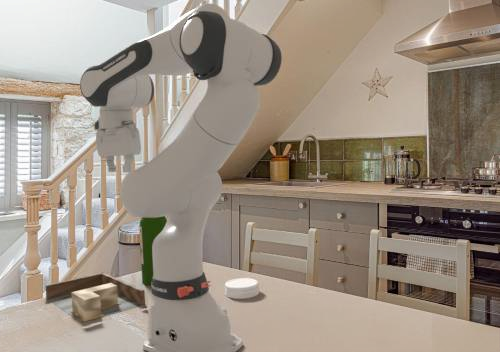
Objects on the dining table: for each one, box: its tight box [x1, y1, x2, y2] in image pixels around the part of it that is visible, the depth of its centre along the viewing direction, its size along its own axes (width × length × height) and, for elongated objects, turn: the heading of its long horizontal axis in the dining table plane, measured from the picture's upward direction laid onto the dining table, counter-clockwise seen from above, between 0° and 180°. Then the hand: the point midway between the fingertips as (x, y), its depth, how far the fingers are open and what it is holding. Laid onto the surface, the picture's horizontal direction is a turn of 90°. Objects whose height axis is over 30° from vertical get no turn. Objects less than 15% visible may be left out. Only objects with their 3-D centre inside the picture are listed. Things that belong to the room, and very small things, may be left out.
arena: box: [45, 272, 146, 324], centre depth 122 cm, size 27×18×5 cm, turn 42°
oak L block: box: [71, 283, 118, 319], centre depth 114 cm, size 11×9×5 cm
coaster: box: [224, 277, 260, 300], centre depth 125 cm, size 10×10×4 cm
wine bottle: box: [138, 216, 167, 286], centre depth 138 cm, size 9×9×32 cm
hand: (119, 172), depth 119 cm, fingers open, 8 cm apart
